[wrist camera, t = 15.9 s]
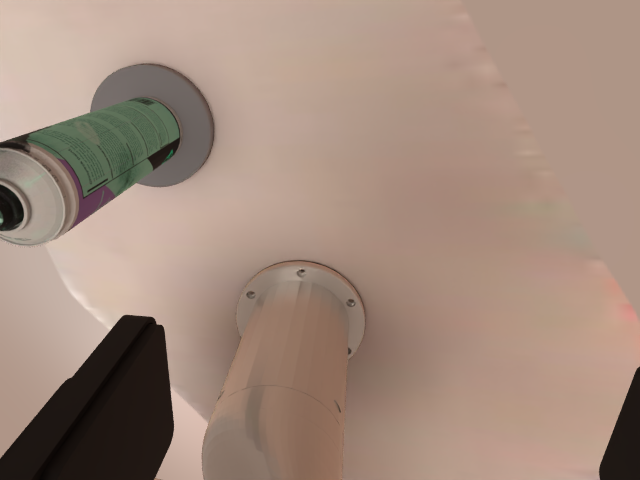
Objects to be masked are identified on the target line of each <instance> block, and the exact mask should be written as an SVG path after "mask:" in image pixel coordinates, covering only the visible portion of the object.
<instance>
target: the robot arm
mask: <svg viewBox="0 0 640 480" xmlns="http://www.w3.org/2000/svg"><path fill="white" fill-rule="evenodd" d="M300 269H303V270H304V271H301V270H300ZM251 291H252V292H251ZM349 299H353V300H349ZM236 324H237V328H238V332H239V335H240V337H241V341H240V344H239V346H238V349H237V352H236V354H235V357H234V359H233V362H232V365H231V367H230V370H229V372H228V375H227V378H226V380H225V383H224V385H223V388H222V390H221V393H220V396H219V398H218V401H217V403H216V406H215V409H214V411H213V414H212V416H211V419H210V421H209V424H208V427H207V430H206V433H205V436H204V441H203V447H202V471H203V477H204V480H342V466H343V445H344V423H345V402H346V380H347V360H349V359H350V358H351V357H352V356H353V355H354V353H355V352H356V351H357V349H358V348H359V346H360V344H361V342H362V339H363V336H364V331H365V313H364V307H363V304H362V302H361V299H360V297H359V295H358V293H357V292H356V290H355V289H354V287H353V286H352V285H351V284H350V283H349V282H348V281H347V280H346V279H345V278H344V277H342V276H341V275H340V274H338V273H337V272H335V271H333V270H331V269H329V268H327V267H325V266H322V265H319V264H315V263H312V262H303V261H292V262H284V263H280V264H275V265H273V266H271V267H268V268H266V269H264V270H262V271H261V272H260V273H258V274H257V275H255V276H254V277H253V278H252V279H251V280H250V282H249V283H248V284H247V285H246V287H245V289H244V290H243V292H242V294H241V296H240V299H239V301H238V305H237V310H236ZM173 431H174V421H173V411H172V401H171V391H170V381H169V371H168V361H167V351H166V341H165V332H164V328H163V326H162V325H156V321H155V319H154V318H153V317H146V316H134V315H124V316H123V317H121V318H120V320H119V321H118V322H117V323H116V324H115V326H114V327H113V328H112V329H111V331H110V332H109V333H108V334H107V335H106V337H105V338H104V339H103V340H102V342H101V343H100V344H99V345H98V346H97V348H96V349H95V350H94V351H93V353H92V354H91V355H90V356H89V357H88V359H87V360H86V361H85V362H84V363H83V365H82V366H81V367H80V368H79V370H78V371H77V372H76V373H75V375H74V376H73V377H72V378H69V379H67V380H66V381H65V382H64V383H63V384H62V385H61V386H60V387H59V389H58V390H57V391H56V392H55V393H54V395H53V396H52V397H51V398H50V399H49V401H48V402H47V403H46V404H45V405H44V407H43V408H42V409H41V410H40V412H39V413H38V414H37V415H36V416H35V417H34V419H33V420H32V421H31V422H30V423H29V425H28V426H27V427H26V428H25V430H24V431H23V432H22V433H21V434H20V436H19V437H18V438H17V439H16V440H15V442H14V443H13V444H12V445H11V446H10V448H9V449H8V450H7V451H6V452H5V454H4V455H3V456H2V457H1V459H0V480H161V479H157V478H155V477H156V474H157V472H158V470H159V468H160V466H161V464H162V461H163V459H164V457H165V455H166V453H167V450H168V448H169V446H170V444H171V441H172V437H173ZM599 475H600V480H640V367H639V368H638V369H637V370H636V372H635V375H634V377H633V380H632V383H631V385H630V388H629V391H628V393H627V396H626V399H625V401H624V404H623V406H622V409H621V412H620V414H619V417H618V420H617V422H616V425H615V427H614V430H613V433H612V435H611V438H610V441H609V443H608V446H607V448H606V451H605V454H604V456H603V459H602V462H601V464H600V468H599Z"/></svg>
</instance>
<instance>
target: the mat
mask: <svg viewBox="0 0 640 480" xmlns="http://www.w3.org/2000/svg"><path fill="white" fill-rule="evenodd" d="M142 96H151V97H155V98H158V99H160V100H162V101H164V102H165V103H167V104H168V105H169V106H170V107H171V108H172V109H173V110H174V111H175V112H176V114H177V115H178V117H179V119H180V121H181V125H182V128H183V140H182V144H181V147H180V148H179V150H178V152H177V153H176V154H175V155H174V156H173V157H172V158H170V159H169V160H168V161H166V162H165V163H163V164H162V165H161V166H159V167H158V168H156V169H155V170H154V171H152V172H151V173H149V174H148V175H146V176H145V177H144V178H142V179H141V180H139V181H138V182H137V183H138V184H141V185H145V186H151V187H167V186H172V185H176V184H178V183H180V182H183V181H184V180H186V179H188V178H189V177H190V176H191V175H193V174H194V173H195V172H196V171H197V170H198V169H199V168H200V167H201V166H202V165H203V164H204V162H205V161H206V159H207V158H208V156H209V153H210V151H211V148H212V145H213V138H214V126H213V119H212V115H211V112H210V109H209V106H208V104H207V102H206V100H205V98H204V97H203V95H202V94H201V92H200V91H199V90H198V89H197V87H196V86H195V85H194V84H193V83H192V82H191V81H190V80H189V79H187V78H186V77H185V76H183V75H182V74H180V73H178V72H177V71H175V70H173V69H170V68H168V67H165V66H161V65H155V64H140V65H134V66H129V67H125V68H122V69H120V70H118V71H116V72H114V73H112V74H111V75H109V76H108V77H107V78H106V79H105V80H104V81H103V82H102V83H101V85H100V86H99V87H98V89H97V91H96V93H95V95H94V97H93V100H92V104H91V110H90V113H91V112H94V111H97V110H100V109H103V108H106V107H109V106H112V105H115V104H118V103H121V102H124V101H127V100H130V99H133V98H136V97H142Z"/></svg>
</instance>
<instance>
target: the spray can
mask: <svg viewBox="0 0 640 480" xmlns="http://www.w3.org/2000/svg"><path fill="white" fill-rule="evenodd" d="M182 140H183V128H182V125H181V121H180V119H179V117H178V115H177V114H176V112H175V111H174V110H173V109H172V108H171V107H170V106H169V105H168V104H167V103H165V102H164V101H162V100H160V99H158V98H155V97H151V96H142V97H136V98H133V99H130V100H127V101H124V102H121V103H118V104H115V105H112V106H109V107H106V108H103V109H100V110H97V111H94V112H91V113H88V114H85V115H82V116H79V117H76V118H73V119H70V120H67V121H64V122H61V123H58V124H55V125H52V126H49V127H46V128H43V129H40V130H37V131H34V132H30V133H27V134H24V135H21V136H18V137H15V138H12V139H9V140H6V141H3V142H0V240H1V241H4V242H6V243H8V244H11V245H15V246H20V247H35V246H40V245H43V244H46V243H48V242H49V241H52V240H55V239H57V238H59V237H60V236H62V235H63V234H65V233H66V232H68V231H69V230H70V229H72V228H73V227H75V226H76V225H77V224H79V223H80V222H82V221H83V220H84V219H86V218H87V217H89V216H90V215H92V214H93V213H94V212H96V211H97V210H99V209H100V208H101V207H103V206H104V205H106V204H107V203H108V202H110V201H111V200H113V199H114V198H115V197H117V196H118V195H120V194H121V193H123V192H124V191H125V190H127V189H128V188H130V187H131V186H132V185H134V184H135V183H137V182H138V181H139V180H141V179H142V178H144V177H145V176H146V175H148V174H149V173H151V172H152V171H154V170H155V169H156V168H158V167H159V166H161V165H162V164H163V163H165V162H166V161H168V160H169V159H170V158H172V157H173V156H174V155H175V154H176V153H177V152H178V150H179V148H180V147H181V144H182Z"/></svg>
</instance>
